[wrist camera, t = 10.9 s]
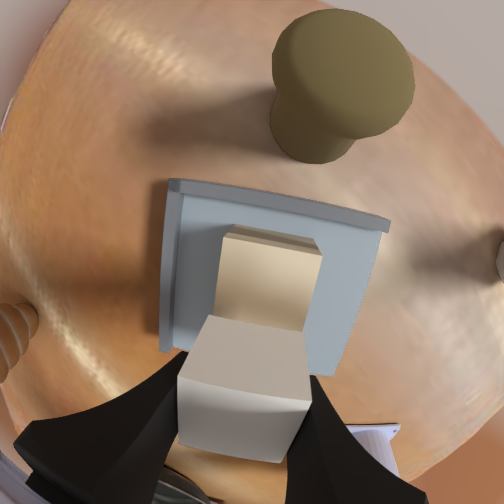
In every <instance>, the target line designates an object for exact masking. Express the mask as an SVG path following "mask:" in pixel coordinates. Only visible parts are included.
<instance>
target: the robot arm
mask: <svg viewBox="0 0 504 504" xmlns="http://www.w3.org/2000/svg"><path fill="white" fill-rule="evenodd" d="M188 354H189V352H185V351H182V352H180V353H179V354H177V355H176V356H175V357H174V358H173V359H172V360H171V361H169V362H168V363H167V364H166V365H165V366H163V367H162V368H161V369H160V370H158V371H157V372H156V373H154V374H153V375H152V376H150V377H149V378H148V379H146V380H145V381H143V382H142V383H140V384H139V385H137V386H136V387H134V388H133V389H131V390H129V391H128V392H126V393H124V394H122V395H120V396H119V397H117V398H115V399H113V400H111V401H108V402H106V403H104V404H101V405H99V406H96V407H94V408H91V409H88V410H86V411H82V412H79V413H75V414H71V415H68V416H63V417H59V418H52V419H45V420H36V421H32V422H31V423H30V424H29V425H28V426H27V427H26V428H25V429H24V431H23V432H22V433H21V434H20V435H19V437H18V438H17V439H16V441H15V442H14V443H13V445H14V448H15V449H16V451H17V452H18V454H19V455H20V456H21V457H22V458H23V459H24V461H26V463H27V464H28V465H29V466H30V467H31V468H32V469H33V472H32V473H31V475H30V476H28V475H27V474H26V473H24V472H23V471H22V470H21V469H19V468H18V467H17V466H16V465H15V464H14V463H13V462H12V461H10V460H9V459H8V458H7V457H6V456H5V455H4V454H3V453H2V452H1V450H0V504H152V500H153V497H154V493H155V490H156V487H157V484H158V481H159V477H160V474H161V471H162V468H163V465H164V462H165V459H166V457H167V454H168V452H169V450H170V448H171V446H172V443H173V441H174V439H175V437H176V435H177V433H178V403H177V376H178V374H179V372H180V370H181V368H182V366H183V364H184V362H185V360H186V358H187V356H188ZM309 377H310V386H311V395H312V403H311V405H310V407H309V409H308V411H307V413H306V415H305V417H304V419H303V422H302V424H301V426H300V428H299V430H298V432H297V434H296V435H295V437H294V439H293V441H292V443H291V445H290V447H289V449H288V451H287V469H288V476H287V490H286V499H285V504H429V502H428V499H427V496H426V493H425V492H423V491H421V490H419V489H417V488H416V487H414V486H412V485H410V484H408V483H407V482H405V481H403V480H402V479H400V477H399V473H398V469H397V466H396V462H395V459H394V455H393V452H392V449H391V445H390V442H389V441H390V440H391V439H392V438H393V437H394V435H395V434H396V433H397V432H398V430H399V429H400V428H401V425H400V424H386V425H345V424H344V423H343V421H342V420H341V418H340V417H339V415H338V414H337V412H336V411H335V409H334V407H333V406H332V404H331V403H330V401H329V399H328V397H327V396H326V394H325V392H324V390H323V389H322V387H321V385H320V383H319V381H318V379H317V378H316V376H314V375H309Z"/></svg>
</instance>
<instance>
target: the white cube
mask: <svg viewBox="0 0 504 504" xmlns="http://www.w3.org/2000/svg"><path fill="white" fill-rule="evenodd" d="M177 403H178V437H179V444H181V445H184V446H188V447H192V448H196V449H200V450H204V451H208V452H212V453H217V454H222V455H227V456H232V457H238V458H244V459H250V460H257V461H265V462H274V463H281V461H282V460H283V458H284V456H285V454H286V452H287V451H288V449H289V447H290V445H291V443H292V441H293V439H294V437H295V435H296V434H297V432H298V430H299V428H300V426H301V424H302V422H303V419H304V417H305V415H306V413H307V411H308V409H309V407H310V405H311V403H312V395H311V386H310V377H309V368H308V360H307V352H306V344H305V336H304V332H298V331H291V330H285V329H279V328H273V327H268V326H262V325H257V324H252V323H246V322H241V321H236V320H231V319H226V318H222V317H217V316H212V315H208V317H207V319H206V321H205V323H204V325H203V327H202V329H201V331H200V333H199V335H198V337H197V339H196V340H195V342H194V344H193V346H192V348H191V350H190V352H189V354H188V356H187V358H186V360H185V362H184V364H183V366H182V368H181V370H180V372H179V374H178V376H177Z"/></svg>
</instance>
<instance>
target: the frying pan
mask: <svg viewBox="0 0 504 504" xmlns="http://www.w3.org/2000/svg"><path fill="white" fill-rule="evenodd" d="M152 504H218V503H215V502H213V501H211V500H209V499H208V497H207V496H206V494H205V493H204V492H203V491H202V490H201V489H200V488H198V487H197V486H196V485H195V484H193V483H192V482H191V481H189V480H188V479H186V478H184V477H183V476H181V475H179V474H177V473H176V472H174V471H172V470H170V469H168V468H166V467H163V468H162V471H161V474H160V477H159V481H158V484H157V487H156V490H155V493H154V497H153V500H152Z"/></svg>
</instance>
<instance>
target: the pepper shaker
mask: <svg viewBox="0 0 504 504" xmlns="http://www.w3.org/2000/svg"><path fill="white" fill-rule="evenodd" d="M272 76H273V81H274V83H275V86H276V88H277V91H278V94H277V97H276V99H275V101H274V104H273V107H272V109H271V112H270V128H271V131H272V134H273V137H274V139H275V141H276V142H277V143H278V145H279V146H280V147H281V149H282V150H283V151H284V152H286V153H287V154H289V155H290V156H291V157H293V158H294V159H297V160H299V161H302V162H305V163H309V164H324V163H328V162H332V161H335V160H336V159H338V158H339V157H341V156H342V155H344V154H345V153H346V152H347V151H348V149H349V148H350V147H351V146H352V144H353V143H354V142H355V141H356V140H357V139H362V138H367V137H372V136H376V135H379V134H382V133H383V132H385V131H386V130H388V129H390V128H391V127H393V126H395V125H396V124H398V122H399V121H400V120H401V118H402V117H403V115H404V114H405V113H406V111H407V110H408V108H409V107H410V105H411V104H412V100H413V95H414V90H415V80H414V73H413V67H412V62H411V60H410V58H409V56H408V54H407V52H406V50H405V48H404V46H403V45H402V44H401V42H400V41H399V40H398V39H397V38H396V37H395V36H394V34H393V33H392V32H391V31H390V30H388V29H387V28H386V27H384V26H383V25H381V24H380V23H379V22H377V21H376V20H374V19H372V18H370V17H368V16H365V15H362V14H360V13H358V12H355V11H349V10H343V9H326V10H317V11H314V12H311V13H309V14H306V15H304V16H302V17H299V18H297V19H295V20H294V21H293V22H292V23H291V24H290V25H289V26H288V27H287V28H286V29H285V30H284V31H283V32H282V33H281V35H280V37H279V39H278V41H277V43H276V46H275V48H274V51H273V53H272Z"/></svg>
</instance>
